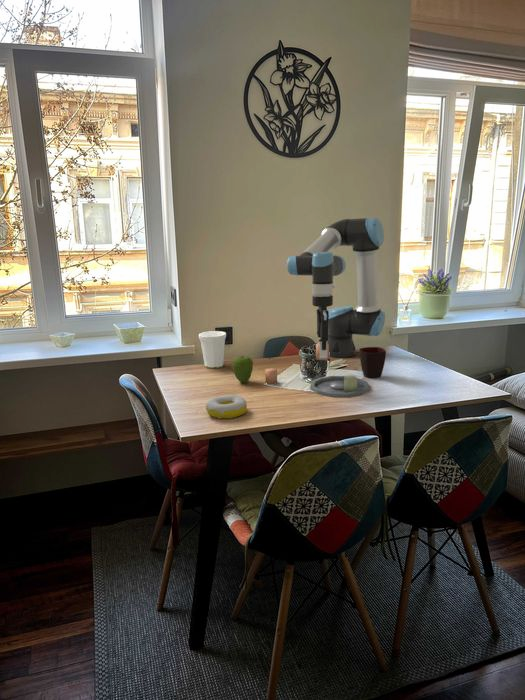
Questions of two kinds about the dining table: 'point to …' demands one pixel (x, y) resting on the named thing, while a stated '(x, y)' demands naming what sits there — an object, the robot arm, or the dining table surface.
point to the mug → (372, 361)
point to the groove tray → (336, 386)
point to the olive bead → (350, 384)
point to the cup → (213, 347)
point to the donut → (226, 406)
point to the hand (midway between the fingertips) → (322, 356)
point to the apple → (242, 368)
